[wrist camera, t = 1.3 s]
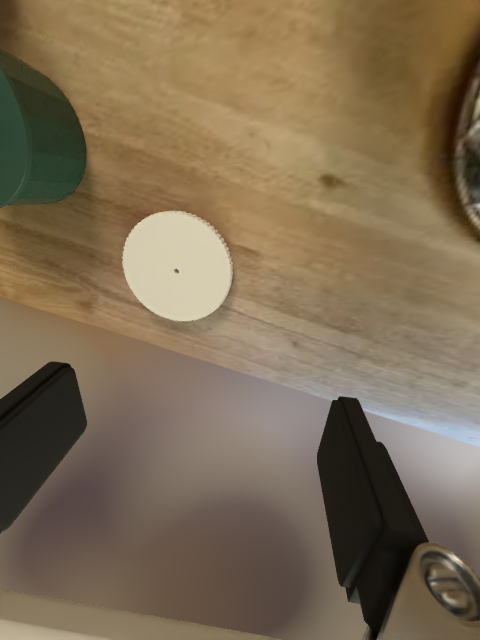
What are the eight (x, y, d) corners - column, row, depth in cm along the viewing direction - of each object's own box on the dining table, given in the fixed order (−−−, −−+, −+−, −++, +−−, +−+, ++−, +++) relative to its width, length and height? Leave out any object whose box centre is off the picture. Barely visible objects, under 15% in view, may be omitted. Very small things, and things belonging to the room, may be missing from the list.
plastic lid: (229, 320, 39) (227, 327, 36) (135, 307, 39) (127, 314, 37) (239, 216, 33) (236, 218, 30) (127, 204, 33) (116, 204, 31)
